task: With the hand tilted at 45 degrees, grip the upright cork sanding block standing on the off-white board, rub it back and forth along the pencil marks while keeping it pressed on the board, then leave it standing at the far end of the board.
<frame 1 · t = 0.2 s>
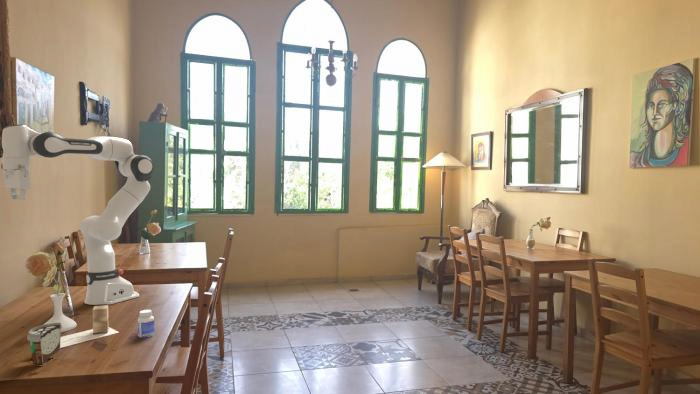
hand: (18, 199, 181), 48 cm above the table, tool pointing down, fingers open, 8 cm apart
flower in vase: (58, 333, 166), on the table
food container: (41, 360, 141), on the table
board: (83, 339, 158), on the table
sanding block: (101, 331, 163), point 1 cm above the table, touching board
pill bottle: (146, 338, 160), on the table
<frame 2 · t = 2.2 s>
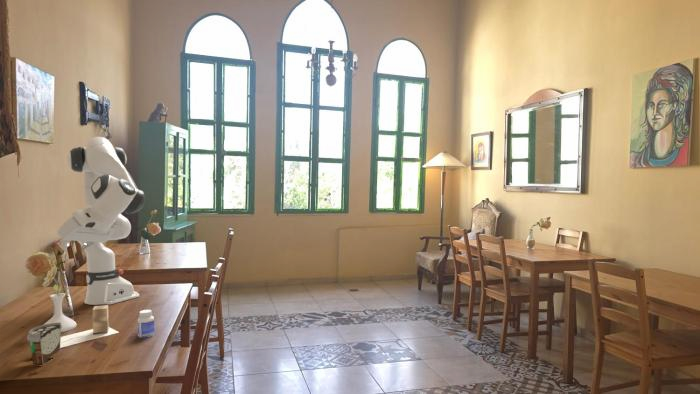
hand: (73, 248, 159), 32 cm above the table, tool tilted 40°, fingers open, 8 cm apart
nothing on the table moved.
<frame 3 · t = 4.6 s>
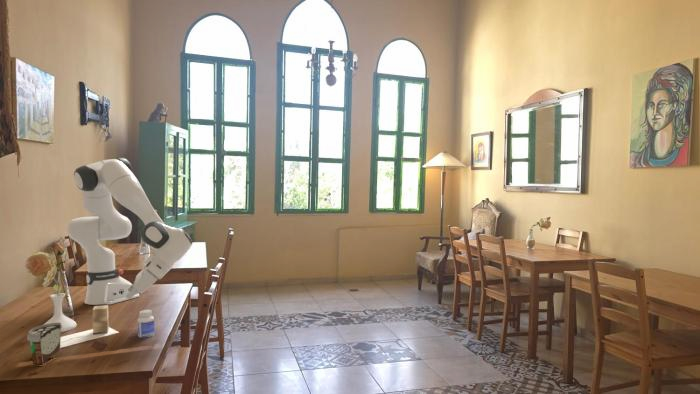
hand: (128, 294, 166), 14 cm above the table, tool tilted 45°, fingers open, 8 cm apart
nothing on the table moved.
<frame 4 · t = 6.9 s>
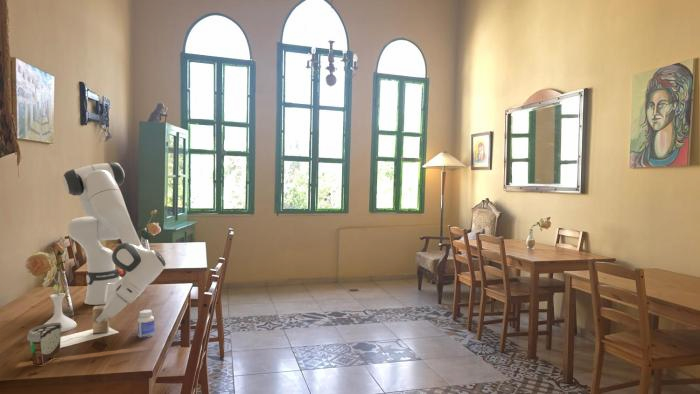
hand: (98, 318, 162), 6 cm above the table, tool tilted 45°, fingers closed on sanding block, 4 cm apart
sanding block: (101, 331, 163), point 1 cm above the table, touching board, gripper
everything else where it was.
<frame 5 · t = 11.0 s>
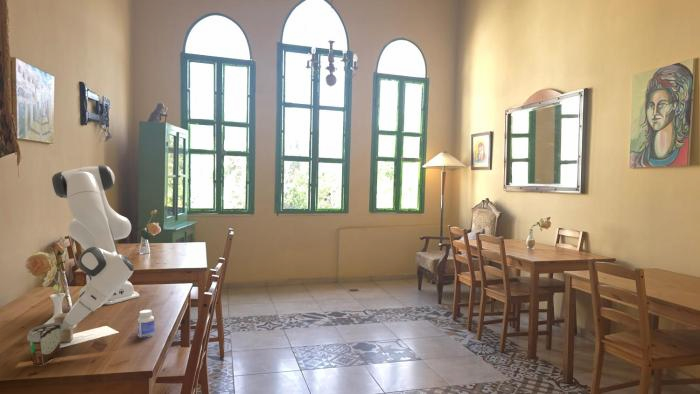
hand: (61, 326, 153), 6 cm above the table, tool tilted 45°, fingers closed on sanding block, 4 cm apart
sanding block: (64, 341, 153), point 1 cm above the table, touching gripper
everything else where it was.
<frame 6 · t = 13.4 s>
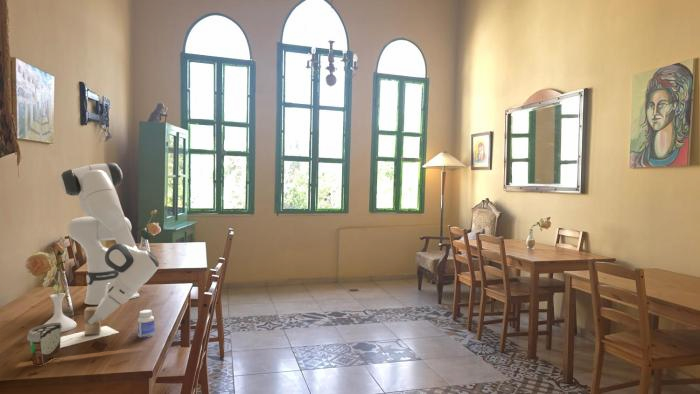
hand: (90, 320, 160), 6 cm above the table, tool tilted 45°, fingers closed on sanding block, 4 cm apart
sanding block: (92, 333, 161), point 1 cm above the table, touching gripper
everything else where it was.
when the fingers open (6 cm above the table, at t = 15.4 s): sanding block stays where it is, resting on board.
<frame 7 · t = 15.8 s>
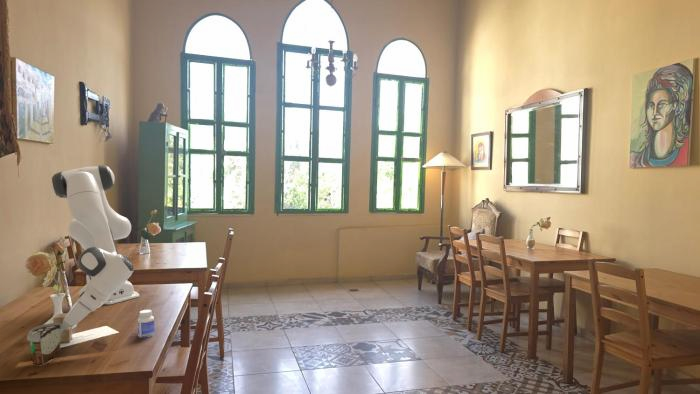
hand: (61, 327, 153), 6 cm above the table, tool tilted 45°, fingers open, 8 cm apart
sanding block: (63, 341, 153), point 1 cm above the table, touching board
everything else where it was.
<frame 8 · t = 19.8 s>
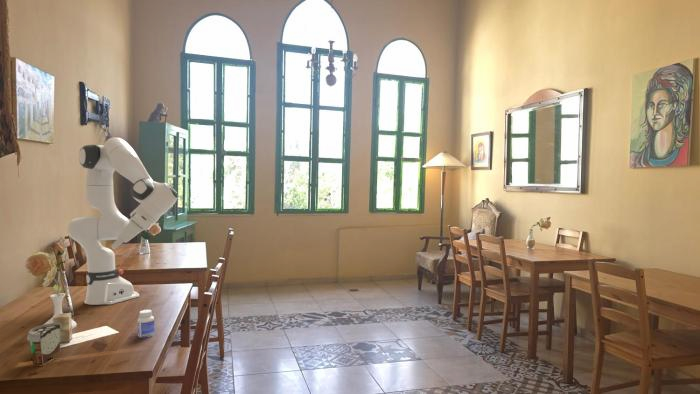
hand: (113, 246, 168), 31 cm above the table, tool tilted 45°, fingers open, 8 cm apart
nothing on the table moved.
at the end: sanding block inside the target area (0.4 cm from its centre), point 1.2 cm above the table; sanding block tilted 0°; the gripper is holding nothing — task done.
